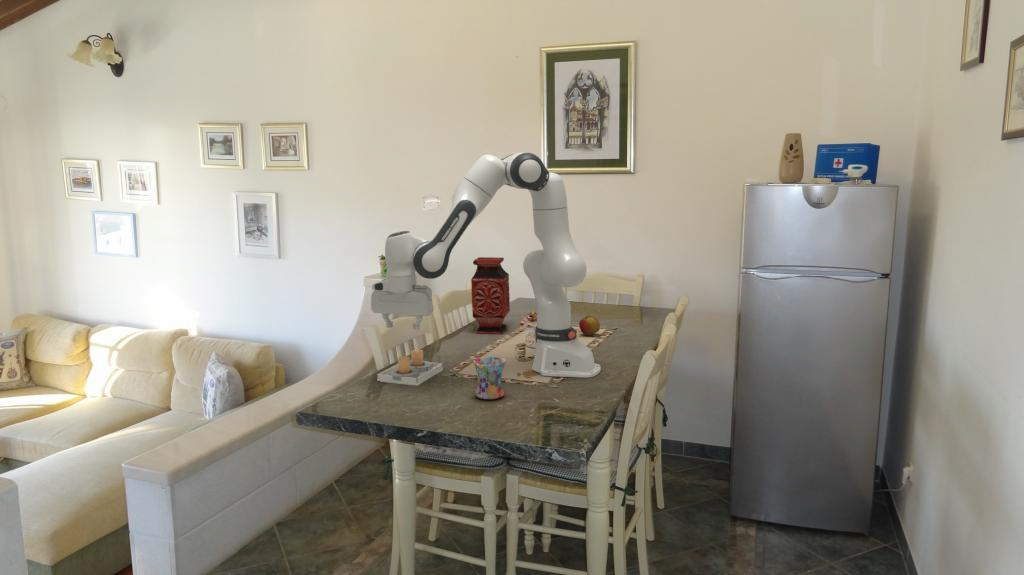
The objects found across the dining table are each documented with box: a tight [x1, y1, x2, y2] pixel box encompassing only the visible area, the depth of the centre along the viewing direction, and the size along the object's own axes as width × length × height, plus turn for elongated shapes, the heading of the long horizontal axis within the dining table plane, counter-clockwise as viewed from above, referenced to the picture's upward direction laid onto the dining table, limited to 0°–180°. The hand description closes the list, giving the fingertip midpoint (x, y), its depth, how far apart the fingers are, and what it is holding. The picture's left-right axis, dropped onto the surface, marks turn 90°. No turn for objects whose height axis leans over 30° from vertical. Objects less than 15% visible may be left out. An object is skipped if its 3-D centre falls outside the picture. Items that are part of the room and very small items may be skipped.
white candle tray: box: [376, 349, 444, 387], centre depth 216 cm, size 14×18×7 cm
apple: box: [578, 315, 601, 337], centre depth 269 cm, size 8×8×8 cm
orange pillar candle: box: [397, 355, 411, 374], centre depth 212 cm, size 4×4×6 cm
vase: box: [471, 256, 511, 335], centre depth 276 cm, size 14×14×30 cm
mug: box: [472, 356, 506, 400], centre depth 196 cm, size 12×9×11 cm
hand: (402, 328), depth 210 cm, fingers open, 8 cm apart
